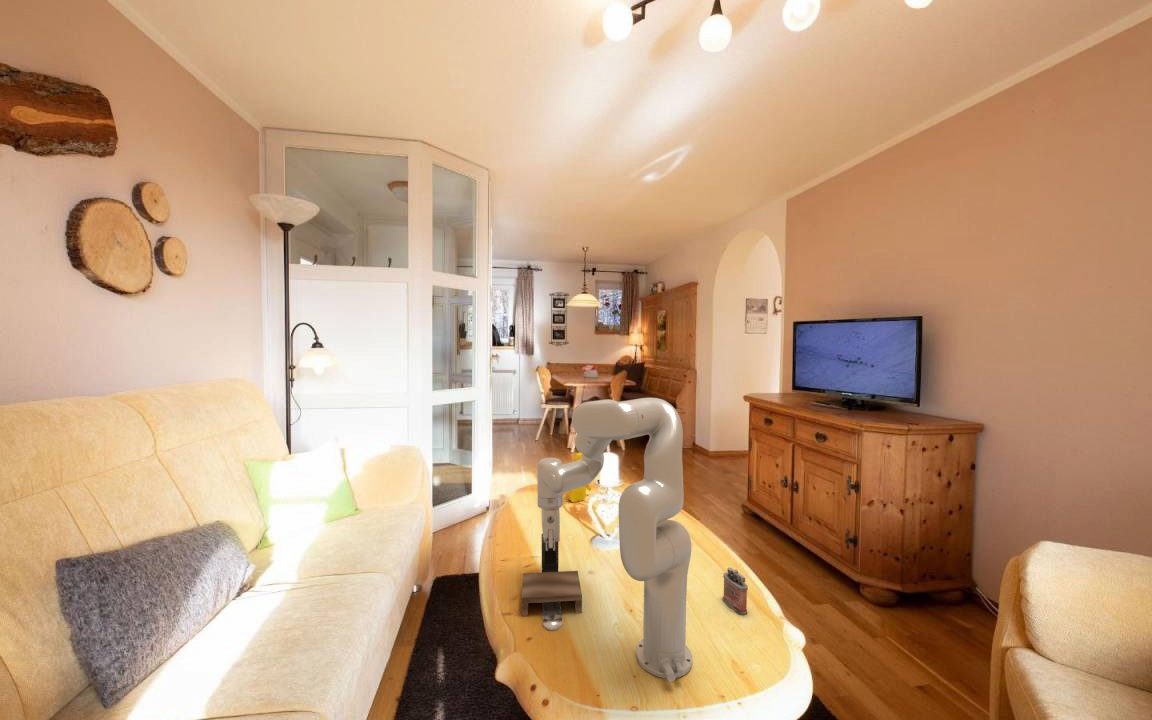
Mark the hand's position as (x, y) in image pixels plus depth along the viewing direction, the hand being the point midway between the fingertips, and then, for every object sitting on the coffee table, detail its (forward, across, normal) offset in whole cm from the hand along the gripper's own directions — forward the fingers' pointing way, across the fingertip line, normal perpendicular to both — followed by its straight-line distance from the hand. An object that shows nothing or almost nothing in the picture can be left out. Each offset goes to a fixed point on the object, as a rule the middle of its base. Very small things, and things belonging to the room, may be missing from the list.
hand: (550, 559), depth 131 cm
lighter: (+7, -17, -50) cm, 53 cm away
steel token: (+7, -20, 0) cm, 21 cm away
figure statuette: (+7, +64, -14) cm, 66 cm away
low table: (+7, -10, 0) cm, 12 cm away
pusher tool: (+7, -8, 0) cm, 10 cm away
